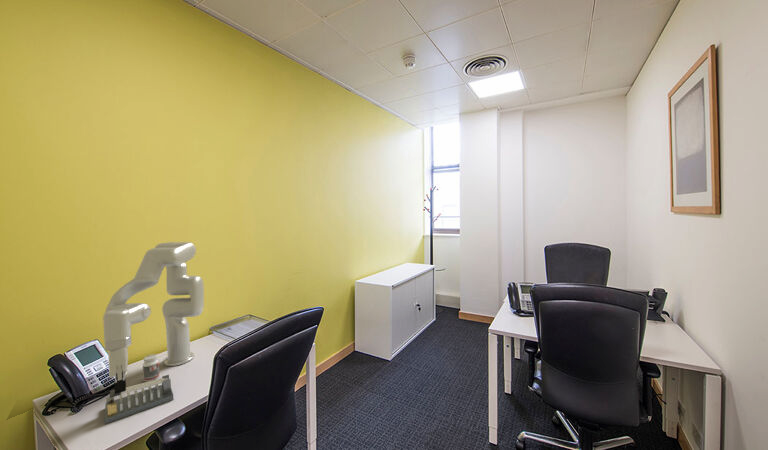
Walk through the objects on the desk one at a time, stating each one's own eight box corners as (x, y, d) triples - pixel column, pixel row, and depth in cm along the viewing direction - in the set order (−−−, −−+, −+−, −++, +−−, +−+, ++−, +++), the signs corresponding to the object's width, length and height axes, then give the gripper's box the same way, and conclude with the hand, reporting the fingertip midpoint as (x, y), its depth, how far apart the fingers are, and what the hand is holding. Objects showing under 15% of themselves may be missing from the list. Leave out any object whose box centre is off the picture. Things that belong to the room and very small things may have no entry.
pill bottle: (161, 376, 137) (160, 355, 136) (147, 383, 132) (145, 361, 131) (155, 373, 140) (154, 352, 139) (141, 379, 135) (139, 358, 134)
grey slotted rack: (105, 408, 115) (104, 390, 115) (169, 386, 129) (168, 371, 128) (105, 424, 106) (103, 405, 106) (173, 399, 120) (172, 382, 119)
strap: (167, 378, 125) (167, 375, 125) (168, 382, 122) (168, 379, 122) (110, 393, 113) (110, 390, 113) (109, 398, 110) (109, 395, 110)
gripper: (105, 339, 115) (107, 386, 116) (104, 352, 104) (106, 404, 105) (130, 334, 120) (132, 379, 121) (132, 345, 109) (134, 395, 110)
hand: (120, 390), depth 113 cm, fingers closed
